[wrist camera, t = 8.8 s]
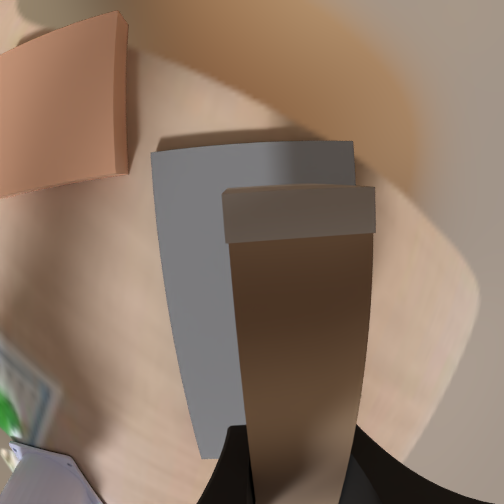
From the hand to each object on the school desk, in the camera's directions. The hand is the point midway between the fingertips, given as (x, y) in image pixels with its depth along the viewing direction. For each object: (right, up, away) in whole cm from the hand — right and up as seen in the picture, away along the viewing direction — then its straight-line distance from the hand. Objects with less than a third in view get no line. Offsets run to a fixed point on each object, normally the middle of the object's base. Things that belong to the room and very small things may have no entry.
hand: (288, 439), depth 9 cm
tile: (-12, +10, +5) cm, 16 cm away
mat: (-1, +2, +8) cm, 8 cm away
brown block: (0, +1, +3) cm, 3 cm away
